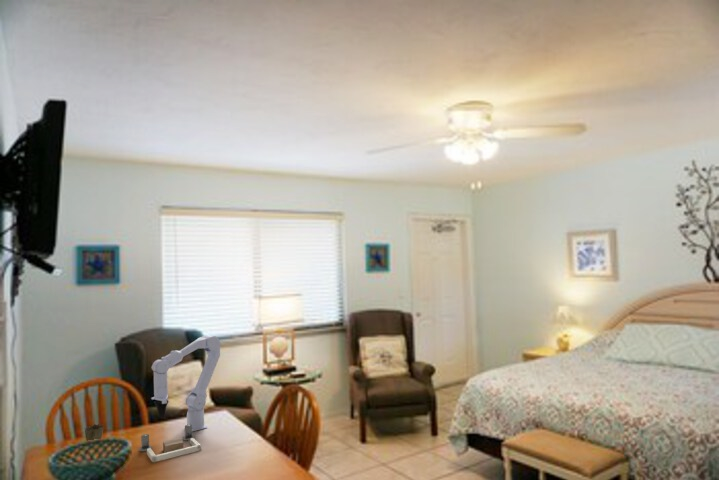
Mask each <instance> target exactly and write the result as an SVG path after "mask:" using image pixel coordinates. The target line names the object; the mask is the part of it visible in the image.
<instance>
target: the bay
mask: <svg viewBox="0 0 719 480" xmlns="http://www.w3.org/2000/svg"><path fill="white" fill-rule="evenodd" d="M189 444H190V445H191V446H188V447H185V448H184V447H183V449H179V450H175V451H171V452H167V453H164V452H163V453H159V454H155V452H154V451H153V448H152V449H151V448H149V449H147V451H146V455H147V456H148V458H149V459H150V461H151V462H152V463H156V462H161V461H164V460H168V459H173V458H176V457H179V456H183V455H187V454H190V453H191V454H192V453H195V452H200V451H202V445H201V444H200V443H199V441H197V440H196V439H194V438H191V439H190V441H189Z"/></svg>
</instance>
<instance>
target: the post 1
mask: <svg viewBox="0 0 719 480" xmlns="http://www.w3.org/2000/svg"><path fill="white" fill-rule="evenodd" d="M140 438H141V440H140V441H141V447H139V448H138V452H139V451H140V453H145V452H146V453H147V449H149V448H151V449H152V450H153V446H152V445H150V434H148V433H145V434H142V435H140Z"/></svg>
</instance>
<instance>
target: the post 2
mask: <svg viewBox="0 0 719 480" xmlns="http://www.w3.org/2000/svg"><path fill="white" fill-rule="evenodd" d="M195 437H196V436H195V435H193V431H192V425H191V424H189V425H187V424H186V425H184V436H183V437H182V441H183V442H190V439H191V438H194V439H195ZM195 440H196V439H195Z"/></svg>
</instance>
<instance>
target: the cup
mask: <svg viewBox="0 0 719 480" xmlns="http://www.w3.org/2000/svg"><path fill="white" fill-rule="evenodd" d="M103 433H104V424H103V423H102V424H101V425H100V424H99V423H98V424H97V423H95V424H93V425H90V426H86V427H85V428H84V436H85V439H86V441H87V442H88V440H94V439H100V440H101V439H102V437H103V435H104V434H103Z"/></svg>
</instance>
